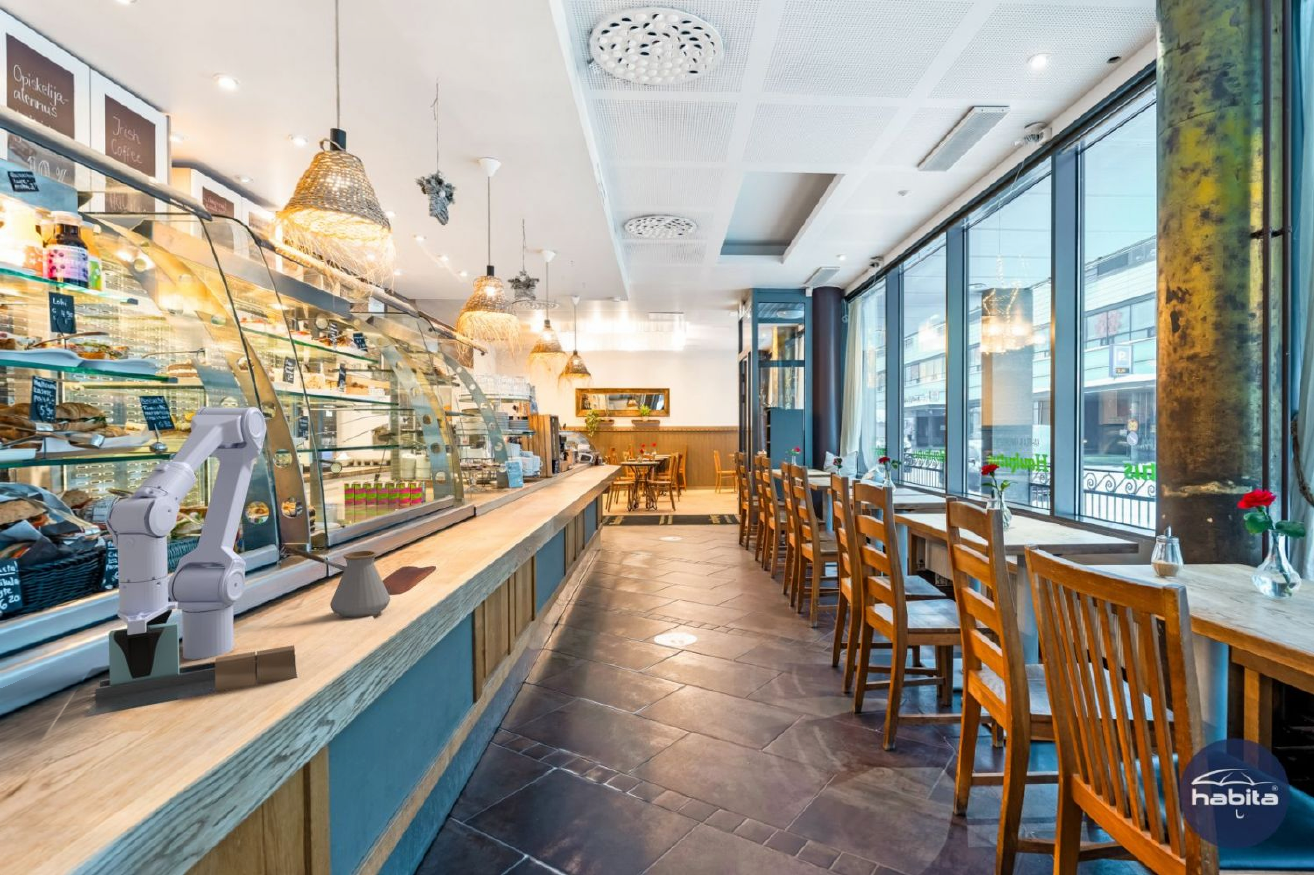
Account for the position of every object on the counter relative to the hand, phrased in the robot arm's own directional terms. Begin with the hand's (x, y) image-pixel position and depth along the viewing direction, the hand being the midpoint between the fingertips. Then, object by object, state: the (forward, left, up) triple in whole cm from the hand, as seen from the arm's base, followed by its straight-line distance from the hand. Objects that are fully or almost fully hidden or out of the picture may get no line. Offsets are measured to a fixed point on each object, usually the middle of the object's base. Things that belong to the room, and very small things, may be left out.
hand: (145, 667), depth 96 cm
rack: (+2, +7, -4) cm, 8 cm away
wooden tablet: (-49, +45, -5) cm, 67 cm away
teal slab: (0, 0, -3) cm, 3 cm away
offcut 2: (+7, +17, -3) cm, 18 cm away
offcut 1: (+7, +12, -3) cm, 14 cm away
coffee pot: (-26, +28, -4) cm, 39 cm away
